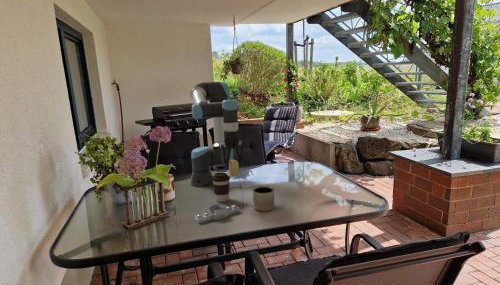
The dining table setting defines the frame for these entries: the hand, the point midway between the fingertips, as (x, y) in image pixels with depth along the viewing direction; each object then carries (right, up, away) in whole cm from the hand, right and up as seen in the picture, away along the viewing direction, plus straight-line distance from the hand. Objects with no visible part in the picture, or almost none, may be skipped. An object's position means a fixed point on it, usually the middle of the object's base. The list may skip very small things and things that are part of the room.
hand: (233, 174), depth 165 cm
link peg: (0, 0, 0) cm, 0 cm away
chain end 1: (-11, -20, -14) cm, 27 cm away
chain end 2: (-2, -18, -8) cm, 20 cm away
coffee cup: (-6, -15, +10) cm, 19 cm away
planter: (+16, -17, -3) cm, 23 cm away
